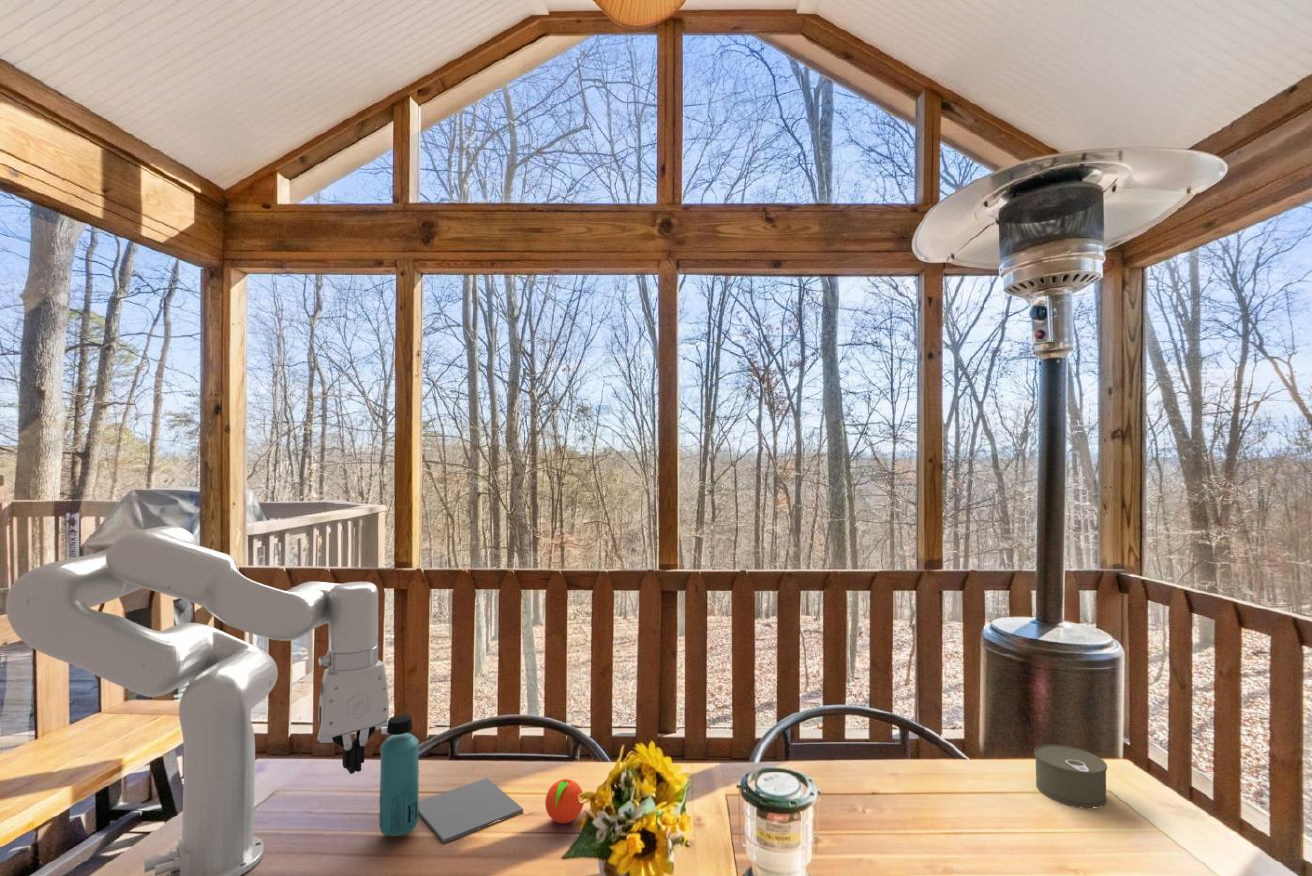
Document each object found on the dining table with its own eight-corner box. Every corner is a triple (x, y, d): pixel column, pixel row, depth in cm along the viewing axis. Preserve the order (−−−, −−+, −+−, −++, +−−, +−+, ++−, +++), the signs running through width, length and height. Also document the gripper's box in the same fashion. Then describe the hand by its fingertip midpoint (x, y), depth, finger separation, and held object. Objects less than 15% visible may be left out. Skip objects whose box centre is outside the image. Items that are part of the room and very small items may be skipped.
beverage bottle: (410, 846, 108) (411, 725, 109) (370, 845, 108) (373, 725, 109) (424, 824, 114) (426, 710, 115) (387, 823, 115) (389, 710, 115)
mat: (443, 843, 109) (443, 839, 109) (412, 806, 120) (412, 803, 120) (523, 812, 118) (523, 808, 118) (487, 780, 130) (487, 777, 130)
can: (1085, 779, 132) (1085, 745, 132) (1121, 811, 120) (1121, 774, 120) (1024, 776, 133) (1023, 742, 133) (1053, 807, 121) (1052, 770, 121)
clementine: (574, 837, 111) (575, 795, 111) (536, 832, 112) (537, 790, 112) (588, 812, 119) (589, 773, 119) (553, 808, 120) (553, 769, 120)
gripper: (309, 673, 100) (308, 794, 99) (406, 654, 109) (406, 763, 109) (298, 662, 105) (297, 776, 105) (392, 644, 115) (392, 748, 114)
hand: (353, 769), depth 107 cm, fingers closed
